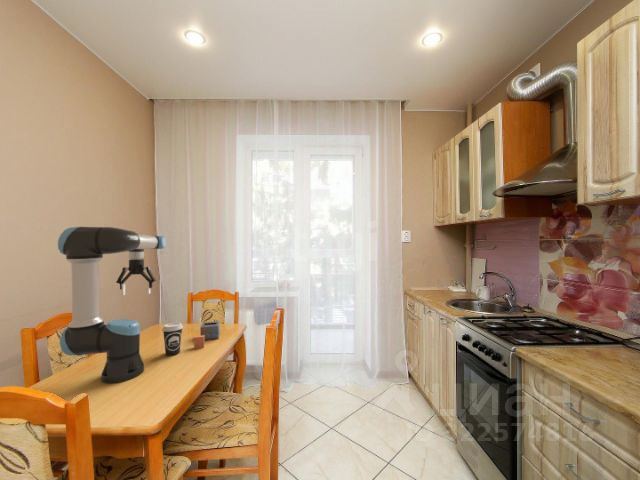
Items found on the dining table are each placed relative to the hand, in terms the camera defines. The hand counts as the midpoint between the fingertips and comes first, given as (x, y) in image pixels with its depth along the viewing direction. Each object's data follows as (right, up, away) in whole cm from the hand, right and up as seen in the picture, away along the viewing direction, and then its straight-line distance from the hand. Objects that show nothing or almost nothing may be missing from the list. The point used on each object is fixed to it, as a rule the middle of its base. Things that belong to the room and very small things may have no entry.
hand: (136, 294), depth 159 cm
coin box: (+43, -27, +4) cm, 51 cm away
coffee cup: (+34, -27, -21) cm, 48 cm away
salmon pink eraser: (+44, -27, -13) cm, 53 cm away
